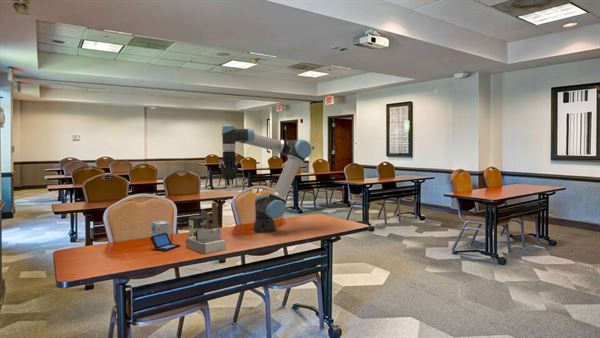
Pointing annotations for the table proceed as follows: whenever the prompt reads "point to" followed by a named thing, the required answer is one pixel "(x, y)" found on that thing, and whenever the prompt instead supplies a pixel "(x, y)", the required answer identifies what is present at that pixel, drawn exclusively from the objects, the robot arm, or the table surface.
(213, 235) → the gray rectangular block
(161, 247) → the handheld game console
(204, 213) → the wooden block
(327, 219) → the table surface
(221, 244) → the mortise bay
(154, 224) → the light bulb box
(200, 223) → the grey-green tall box
